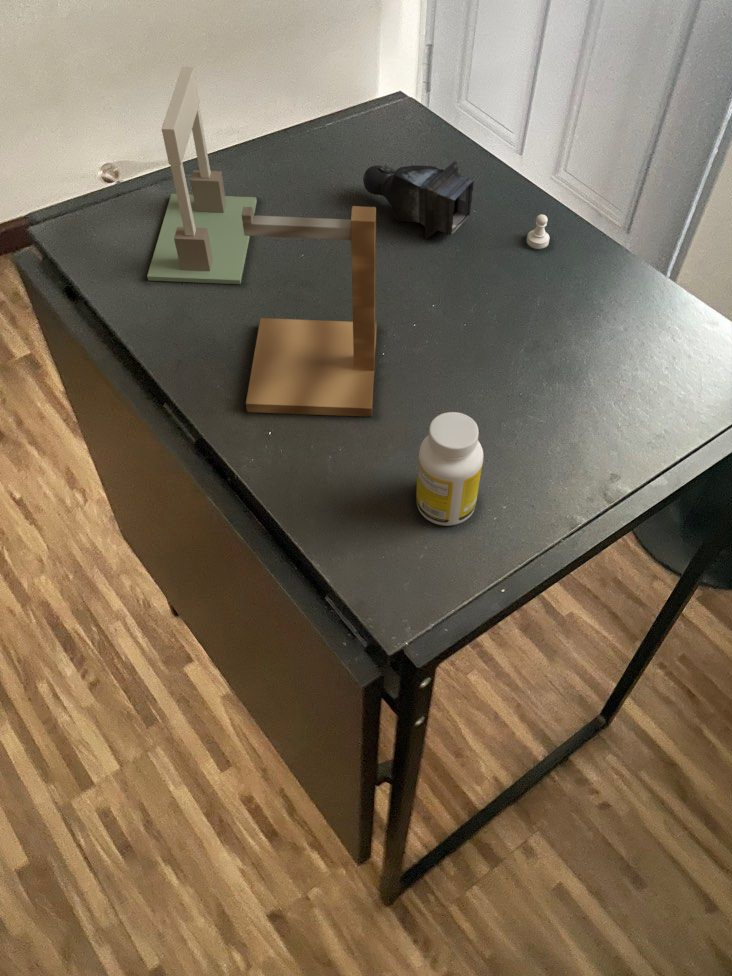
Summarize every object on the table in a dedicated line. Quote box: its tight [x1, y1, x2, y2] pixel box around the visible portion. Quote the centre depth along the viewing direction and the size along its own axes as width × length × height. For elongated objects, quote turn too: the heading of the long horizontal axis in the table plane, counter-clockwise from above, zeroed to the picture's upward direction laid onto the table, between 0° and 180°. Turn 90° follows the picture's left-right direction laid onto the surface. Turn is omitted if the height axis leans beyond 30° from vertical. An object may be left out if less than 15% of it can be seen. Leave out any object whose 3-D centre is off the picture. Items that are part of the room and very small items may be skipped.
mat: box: [146, 193, 258, 285], centre depth 94 cm, size 10×15×1 cm, turn 179°
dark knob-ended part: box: [362, 160, 475, 239], centre depth 96 cm, size 6×13×6 cm, turn 60°
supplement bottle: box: [415, 411, 484, 527], centre depth 71 cm, size 5×5×10 cm
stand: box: [242, 205, 378, 418], centre depth 76 cm, size 12×12×18 cm
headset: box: [161, 66, 226, 271], centre depth 87 cm, size 3×12×16 cm, turn 179°
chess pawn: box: [526, 213, 550, 250], centre depth 95 cm, size 3×3×4 cm
